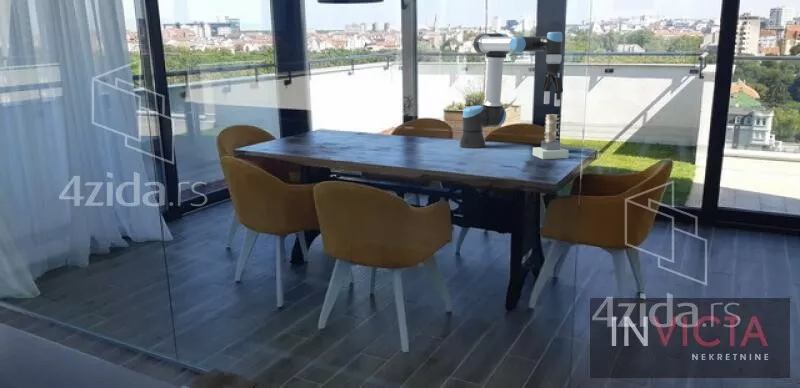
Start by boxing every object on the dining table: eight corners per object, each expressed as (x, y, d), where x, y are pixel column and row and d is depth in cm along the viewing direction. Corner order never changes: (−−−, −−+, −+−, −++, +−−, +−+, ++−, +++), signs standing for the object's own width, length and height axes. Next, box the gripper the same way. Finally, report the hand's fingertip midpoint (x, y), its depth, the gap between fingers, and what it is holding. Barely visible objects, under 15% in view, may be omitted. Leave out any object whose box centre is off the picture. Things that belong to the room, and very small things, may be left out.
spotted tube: (559, 150, 348) (561, 114, 344) (558, 152, 340) (559, 115, 336) (544, 149, 351) (545, 114, 346) (542, 151, 343) (544, 115, 339)
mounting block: (542, 159, 320) (542, 151, 319) (532, 154, 334) (532, 147, 333) (568, 158, 322) (568, 150, 321) (557, 153, 336) (557, 146, 335)
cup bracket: (546, 150, 323) (546, 142, 322) (540, 148, 330) (541, 140, 329) (560, 149, 324) (560, 142, 323) (554, 147, 331) (554, 140, 330)
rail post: (548, 149, 325) (549, 115, 321) (545, 148, 329) (546, 114, 325) (555, 149, 325) (556, 114, 321) (552, 148, 329) (553, 114, 325)
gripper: (571, 63, 306) (568, 106, 311) (550, 62, 330) (549, 102, 335) (556, 63, 305) (554, 107, 310) (537, 62, 329) (535, 103, 334)
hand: (551, 105), depth 322 cm, fingers open, 13 cm apart
